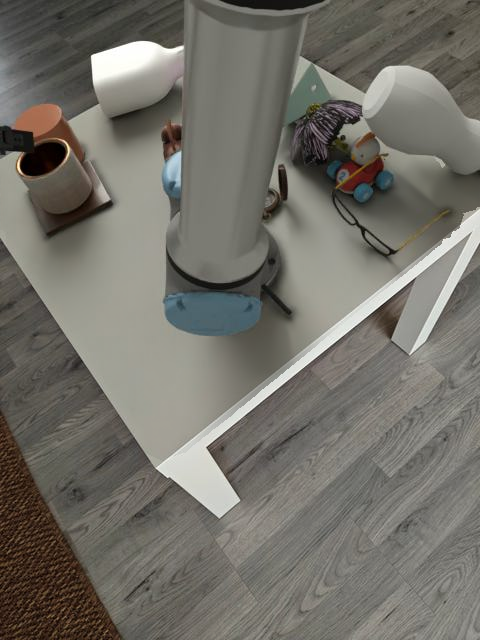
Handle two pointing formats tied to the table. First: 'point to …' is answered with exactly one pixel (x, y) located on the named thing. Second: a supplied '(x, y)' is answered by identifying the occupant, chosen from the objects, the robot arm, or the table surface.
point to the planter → (54, 176)
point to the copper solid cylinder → (49, 126)
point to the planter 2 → (306, 94)
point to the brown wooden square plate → (91, 205)
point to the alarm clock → (171, 139)
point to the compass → (273, 196)
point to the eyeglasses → (362, 228)
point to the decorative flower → (324, 129)
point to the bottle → (134, 76)
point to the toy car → (361, 182)
